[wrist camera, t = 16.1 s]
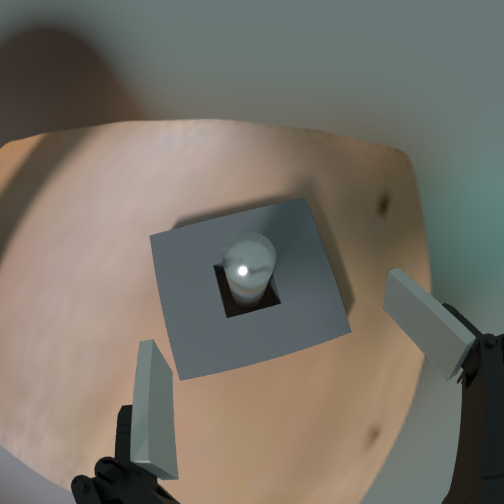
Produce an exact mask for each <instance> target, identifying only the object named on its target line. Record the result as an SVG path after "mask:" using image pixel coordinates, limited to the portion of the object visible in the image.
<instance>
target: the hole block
mask: <svg viewBox="0 0 504 504" xmlns="http://www.w3.org/2000/svg"><path fill="white" fill-rule="evenodd" d="M248 231H250V232H256V233H259V234H262V235H263V236H265V237H266V238H267V239H268V240H269V241H270V242H271V243H272V245H273V246H274V249H275V252H276V263H275V266H274V269H273V271H272V274H271V277H270V279H269V282H270V285H271V289H272V292H273V296H274V299H275V302H276V305H275V306H271V307H267V308H264V309H260V310H257V311H253V312H249V313H245V314H242V315H238V316H234V317H230V318H228V315H227V311H226V308H225V304H224V300H223V296H222V292H221V288H220V284H219V280H218V276H217V274H219V273H223V272H225V270H224V267H223V263H222V252H223V248H224V246H225V244H226V243H227V241H228V240H229V239H230V238H232V237H233V236H234V235H236V234H238V233H241V232H248ZM150 241H151V248H152V255H153V261H154V267H155V273H156V279H157V285H158V290H159V295H160V300H161V305H162V310H163V315H164V319H165V324H166V328H167V333H168V337H169V341H170V345H171V349H172V353H173V357H174V361H175V364H176V368H177V372H178V375H179V379H180V380H185V379H191V378H196V377H201V376H206V375H210V374H215V373H219V372H224V371H228V370H232V369H236V368H240V367H244V366H248V365H252V364H255V363H259V362H263V361H266V360H270V359H273V358H277V357H280V356H283V355H287V354H290V353H293V352H296V351H299V350H302V349H305V348H308V347H311V346H314V345H317V344H320V343H323V342H326V341H329V340H331V339H334V338H337V337H340V336H342V335H345V334H347V333H350V332H351V328H350V325H349V322H348V318H347V315H346V312H345V309H344V305H343V302H342V299H341V296H340V293H339V290H338V287H337V284H336V281H335V278H334V275H333V272H332V269H331V266H330V263H329V260H328V257H327V255H326V252H325V249H324V246H323V244H322V241H321V238H320V235H319V233H318V230H317V227H316V225H315V222H314V220H313V217H312V214H311V212H310V209H309V207H308V204H307V202H306V199H305V198H301V199H296V200H291V201H287V202H282V203H278V204H273V205H269V206H264V207H260V208H256V209H252V210H247V211H243V212H239V213H235V214H231V215H227V216H222V217H218V218H214V219H211V220H207V221H203V222H199V223H195V224H191V225H187V226H184V227H180V228H176V229H172V230H169V231H165V232H161V233H158V234H154V235H151V236H150Z"/></svg>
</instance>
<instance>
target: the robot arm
mask: <svg viewBox="0 0 504 504" xmlns="http://www.w3.org/2000/svg"><path fill="white" fill-rule="evenodd" d="M383 309H384V310H385V311H386V312H387V313H388V314H389V315H390V316H391V317H392V318H393V319H394V320H395V322H396V323H397V324H398V325H399V326H400V327H401V328H402V329H403V330H404V332H405V333H406V334H407V335H408V336H409V337H410V338H411V339H412V341H413V342H414V343H415V344H416V345H417V346H418V347H419V349H420V350H421V351H422V352H423V353H424V354H425V355H426V357H427V358H428V359H429V360H430V361H431V362H432V364H433V365H434V366H435V367H436V368H437V370H438V371H439V372H440V373H441V374H442V376H443V377H444V378H445V379H446V381H448V380H450V379H451V378H452V377H453V376H455V375H456V374H457V373H458V371H459V369H460V368H461V367H462V368H463V372H462V373H461V375H460V377H459V378H458V380H457V383H459V382H460V380H461V379H462V382H461V384H462V409H461V424H460V434H459V442H458V450H457V456H456V462H455V468H454V473H453V477H452V482H451V486H450V490H449V492H448V494H447V496H446V497H445V498H444V500H443V502H442V504H504V334H502V335H499V336H494V335H493V334H489V333H488V334H484V335H483V334H482V333H481V332H480V331H478V329H477V328H476V327H475V326H473V325H472V324H471V323H470V322H469V321H468V320H467V319H466V318H464V316H463V315H461V314H459V312H458V311H457V310H456V309H455V308H454V307H453V306H450V305H448V304H446V303H444V304H442V305H441V304H440V303H439V302H438V301H437V300H436V299H434V298H433V297H432V296H431V295H430V294H429V293H428V292H426V291H425V290H424V289H423V288H422V287H421V286H419V285H418V284H417V283H416V282H415V281H413V280H412V279H411V278H410V277H409V276H407V275H406V274H405V273H404V272H403V271H401V270H400V269H399V268H395V269H393V270H390V271H388V274H387V283H386V291H385V298H384V305H383ZM116 433H117V434H116V442H115V458H112V457H103V458H101V459H99V461H98V462H97V463H96V465H95V468H94V470H95V476H96V477H93V478H89V477H87V476H84V475H78V476H76V477H75V478H74V479H73V480H72V483H71V489H72V493H73V495H74V498H75V501H76V503H77V504H180V503H179V502H178V501H177V500H176V499H174V498H173V497H172V496H171V495H170V494H169V493H168V492H167V491H166V490H165V489H164V488H162V487H161V486H160V485H159V484H158V482H157V477H158V478H160V479H162V480H175V479H179V477H178V467H177V457H176V445H175V430H174V411H173V372H172V370H171V369H170V367H169V365H168V364H167V362H166V360H165V359H164V357H163V355H162V354H161V352H160V350H159V349H158V347H157V345H156V343H155V342H154V340H153V339H151V340H146V341H141V342H140V344H139V351H138V359H137V367H136V375H135V385H134V396H133V405H124V406H122V407H121V409H120V411H119V413H118V417H117V428H116Z"/></svg>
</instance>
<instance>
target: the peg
mask: <svg viewBox="0 0 504 504" xmlns="http://www.w3.org/2000/svg"><path fill="white" fill-rule="evenodd" d="M222 263H223V267H224V270H225V273H226V277H227V280H228V284H229V287H230V290H231V294H232V297H233V299H234V301H235V302H236V303H237V304H238V305H240V306H242V307H253V306H255V305H257V304H258V303H259V302H260V301H261V299H262V297H263V294H264V292H265V289H266V287H267V284H268V282H269V279H270V277H271V274H272V271H273V269H274V266H275V263H276V252H275V249H274V246H273V245H272V243H271V242H270V241H269V240H268V239H267V238H266V237H265V236H263V235H262V234H259V233H256V232H250V231H248V232H241V233H238V234H236V235H234V236H233V237H232V238H230V239H229V240H228V241H227V243H226V244H225V246H224V248H223V252H222Z"/></svg>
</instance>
